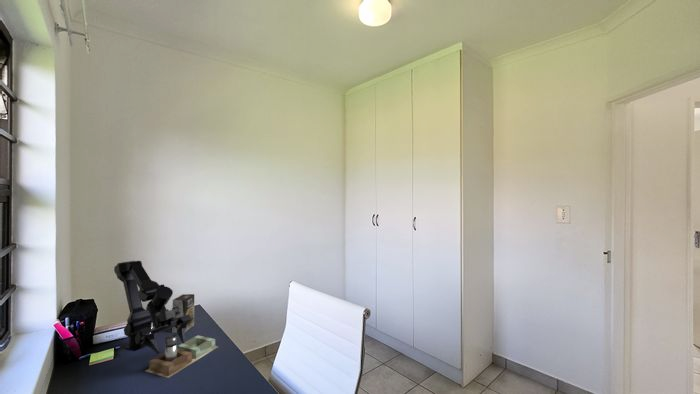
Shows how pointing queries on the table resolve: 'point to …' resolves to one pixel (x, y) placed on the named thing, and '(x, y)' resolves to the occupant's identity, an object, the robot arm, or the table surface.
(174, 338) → the shiny grey rounded piece
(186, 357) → the wooden desk organizer
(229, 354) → the table surface
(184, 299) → the coffee box
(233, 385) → the table surface
